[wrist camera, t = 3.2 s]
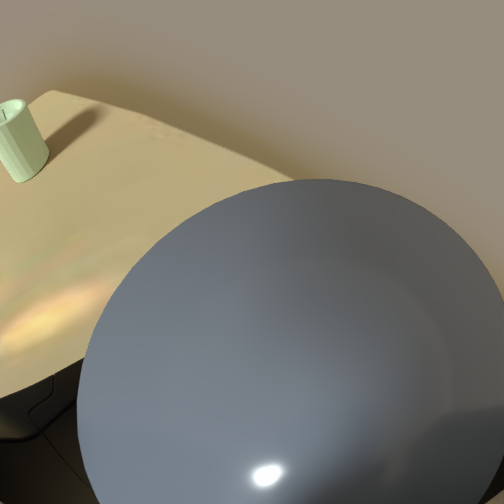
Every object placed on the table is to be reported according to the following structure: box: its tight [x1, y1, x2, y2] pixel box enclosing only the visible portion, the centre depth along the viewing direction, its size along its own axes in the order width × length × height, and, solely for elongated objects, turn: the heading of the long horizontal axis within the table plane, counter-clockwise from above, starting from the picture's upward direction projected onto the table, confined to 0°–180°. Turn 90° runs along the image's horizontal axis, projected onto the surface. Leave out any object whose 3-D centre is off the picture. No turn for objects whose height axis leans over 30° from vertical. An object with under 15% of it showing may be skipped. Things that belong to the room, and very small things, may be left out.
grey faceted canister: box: [77, 179, 504, 504], centre depth 8 cm, size 7×7×12 cm
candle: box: [0, 99, 49, 183], centre depth 16 cm, size 5×5×8 cm
